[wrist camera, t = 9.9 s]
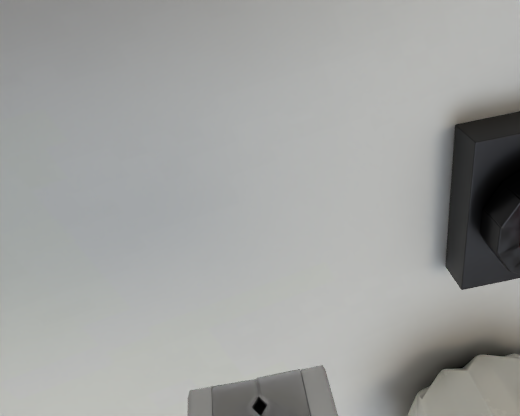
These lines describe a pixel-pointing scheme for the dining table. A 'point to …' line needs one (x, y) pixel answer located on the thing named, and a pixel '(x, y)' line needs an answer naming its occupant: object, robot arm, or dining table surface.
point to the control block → (485, 202)
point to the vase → (473, 389)
